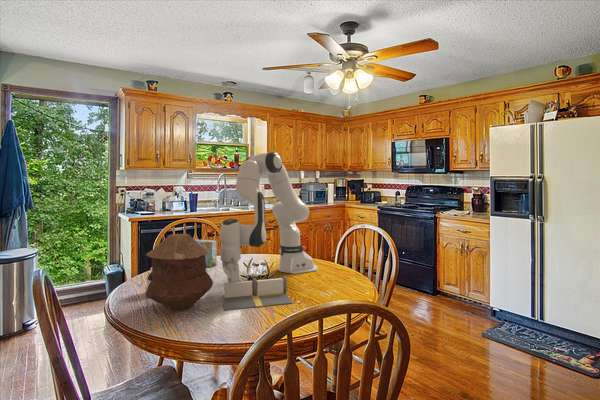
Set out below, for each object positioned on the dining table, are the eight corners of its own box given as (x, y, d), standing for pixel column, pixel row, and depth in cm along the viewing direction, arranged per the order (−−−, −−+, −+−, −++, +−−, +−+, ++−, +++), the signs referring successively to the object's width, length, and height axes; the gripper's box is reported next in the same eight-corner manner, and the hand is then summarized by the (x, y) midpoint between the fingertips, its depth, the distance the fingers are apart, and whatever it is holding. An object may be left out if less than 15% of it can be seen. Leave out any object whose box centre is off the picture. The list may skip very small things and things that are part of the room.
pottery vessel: (156, 325, 127) (153, 243, 125) (140, 304, 147) (137, 233, 145) (223, 309, 142) (222, 235, 140) (200, 292, 163) (199, 227, 160)
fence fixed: (285, 291, 162) (285, 276, 161) (286, 293, 160) (286, 277, 159) (252, 294, 157) (252, 278, 157) (253, 296, 156) (252, 279, 155)
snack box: (217, 265, 210) (216, 240, 209) (212, 267, 205) (211, 242, 204) (187, 262, 217) (186, 238, 216) (181, 264, 212) (181, 239, 211)
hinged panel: (252, 294, 157) (252, 280, 157) (252, 295, 156) (252, 281, 155) (223, 296, 154) (223, 282, 153) (224, 298, 152) (223, 284, 152)
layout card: (282, 289, 165) (282, 288, 165) (292, 303, 148) (292, 302, 148) (222, 295, 158) (222, 294, 158) (224, 310, 140) (224, 309, 140)
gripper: (242, 260, 148) (243, 292, 149) (233, 250, 167) (233, 279, 168) (227, 261, 146) (228, 294, 147) (219, 251, 165) (220, 280, 166)
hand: (230, 286), depth 158 cm, fingers closed
